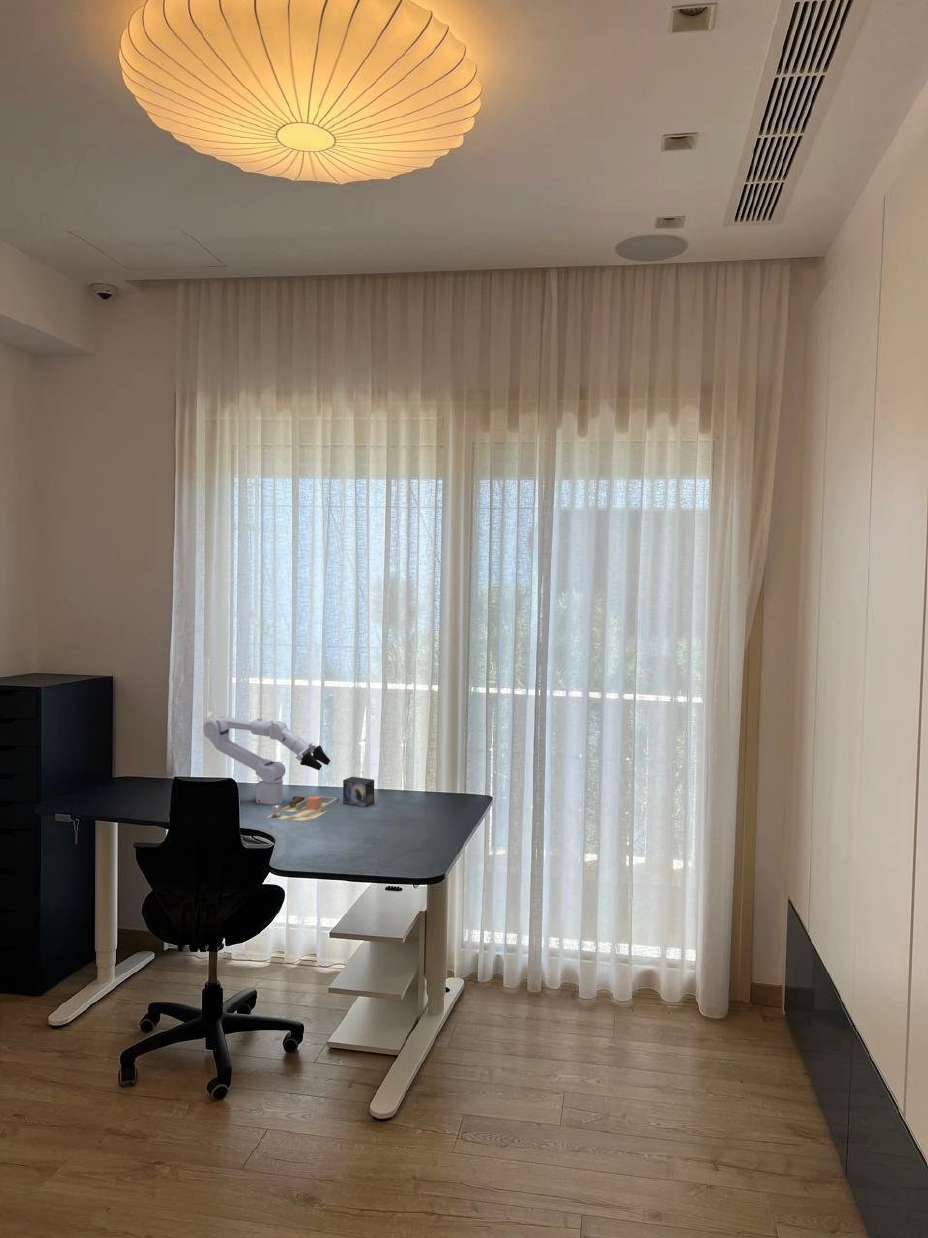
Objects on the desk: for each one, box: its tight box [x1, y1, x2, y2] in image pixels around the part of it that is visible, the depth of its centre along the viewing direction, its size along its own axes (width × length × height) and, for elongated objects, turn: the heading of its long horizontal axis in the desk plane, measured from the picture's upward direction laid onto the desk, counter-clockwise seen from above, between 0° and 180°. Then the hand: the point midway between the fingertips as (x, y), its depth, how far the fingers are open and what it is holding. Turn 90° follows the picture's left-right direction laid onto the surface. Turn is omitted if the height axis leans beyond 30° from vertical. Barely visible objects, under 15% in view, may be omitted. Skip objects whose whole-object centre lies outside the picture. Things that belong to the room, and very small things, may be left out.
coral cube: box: [306, 795, 323, 810], centre depth 332 cm, size 4×4×4 cm
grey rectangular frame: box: [296, 795, 340, 813], centre depth 335 cm, size 11×14×2 cm
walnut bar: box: [289, 795, 305, 807], centre depth 338 cm, size 4×8×2 cm, turn 164°
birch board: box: [266, 802, 341, 822], centre depth 330 cm, size 17×26×1 cm, turn 164°
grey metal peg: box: [271, 804, 282, 819], centre depth 321 cm, size 3×3×4 cm
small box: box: [342, 776, 375, 808], centre depth 339 cm, size 11×6×10 cm, turn 62°
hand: (324, 765), depth 336 cm, fingers open, 7 cm apart
